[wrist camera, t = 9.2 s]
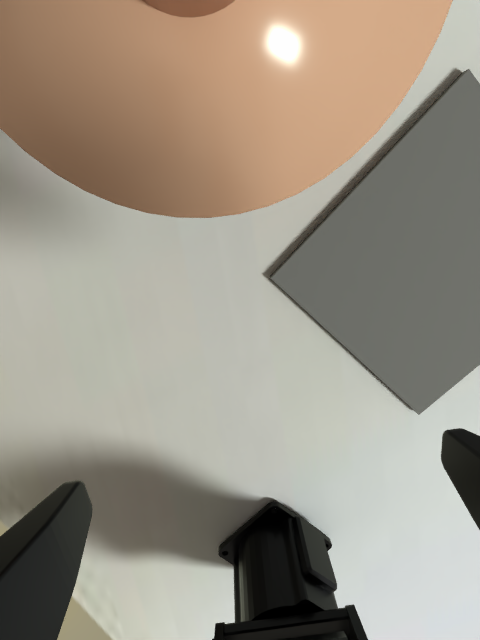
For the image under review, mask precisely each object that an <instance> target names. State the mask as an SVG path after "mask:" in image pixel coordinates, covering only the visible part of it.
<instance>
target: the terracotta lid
mask: <svg viewBox="0 0 480 640" xmlns="http://www.w3.org/2000/svg"><path fill="white" fill-rule="evenodd" d="M452 1H453V0H0V129H2V130H3V131H4V132H5V133H6V134H7V135H8V136H9V137H10V138H11V139H12V140H13V141H15V142H16V143H17V144H18V145H19V146H20V147H21V148H22V149H23V150H24V151H25V152H27V153H28V154H29V155H31V156H32V157H33V158H35V159H36V160H38V161H39V162H40V163H42V164H43V165H44V166H46V167H47V168H48V169H50V170H51V171H52V172H54V173H55V174H57V175H59V176H60V177H62V178H64V179H65V180H67V181H69V182H71V183H72V184H74V185H76V186H78V187H79V188H81V189H83V190H85V191H87V192H89V193H91V194H94V195H96V196H98V197H101V198H103V199H105V200H108V201H110V202H112V203H115V204H118V205H121V206H125V207H128V208H132V209H135V210H139V211H142V212H146V213H151V214H158V215H165V216H172V217H185V218H211V217H219V216H227V215H235V214H241V213H244V212H248V211H252V210H255V209H259V208H263V207H267V206H270V205H272V204H274V203H277V202H279V201H282V200H284V199H286V198H289V197H291V196H294V195H296V194H298V193H300V192H301V191H303V190H305V189H307V188H308V187H310V186H312V185H313V184H315V183H317V182H319V181H320V180H322V179H324V178H325V177H327V176H328V175H329V174H331V173H332V172H333V171H334V170H336V169H337V168H338V167H340V166H341V165H342V164H344V163H345V162H346V161H348V160H349V159H350V158H351V157H352V156H353V155H354V154H356V153H357V152H358V151H359V150H360V149H361V148H362V147H363V146H364V145H365V144H366V143H367V142H368V141H369V140H370V139H371V138H372V137H373V136H374V135H375V134H376V133H377V132H378V130H379V129H380V128H381V127H382V126H383V124H384V123H385V122H386V121H387V119H388V118H389V117H390V116H391V114H392V113H393V112H394V111H395V109H396V108H397V107H398V106H399V105H400V103H401V102H402V100H403V98H404V97H405V95H406V94H407V92H408V91H409V89H410V88H411V86H412V84H413V83H414V81H415V80H416V78H417V77H418V75H419V74H420V72H421V70H422V68H423V66H424V64H425V62H426V60H427V58H428V56H429V54H430V52H431V50H432V48H433V46H434V44H435V42H436V40H437V38H438V36H439V34H440V32H441V30H442V27H443V24H444V22H445V19H446V16H447V14H448V11H449V9H450V6H451V3H452Z"/></svg>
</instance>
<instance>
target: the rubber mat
mask: <svg viewBox="0 0 480 640" xmlns="http://www.w3.org/2000/svg"><path fill="white" fill-rule="evenodd" d="M270 278H271V279H272V280H273V281H274V282H275V283H276V284H277V285H278V286H279V287H280V288H281V289H283V290H284V291H285V292H286V293H287V294H288V295H289V296H290V297H291V298H292V299H293V300H295V301H296V302H297V303H298V304H299V305H300V306H301V307H302V308H303V309H304V310H305V311H306V312H308V313H309V314H310V315H311V316H312V317H313V318H314V319H315V320H316V321H317V322H318V323H320V324H321V325H322V326H323V327H324V328H325V329H326V330H327V331H328V332H329V333H330V334H331V335H333V336H334V337H335V338H336V339H337V340H338V341H339V342H340V343H341V344H342V345H343V346H345V347H346V348H347V349H348V350H349V351H350V352H351V353H352V354H353V355H354V356H355V357H356V358H358V359H359V360H360V361H361V362H362V363H363V364H364V365H365V366H366V367H367V368H368V369H370V370H371V371H372V372H373V373H374V374H375V375H376V376H377V377H378V378H379V379H380V380H381V381H383V382H384V383H385V384H386V385H387V386H388V387H389V388H390V389H391V390H392V391H393V392H395V393H396V394H397V395H398V396H399V397H400V398H401V399H402V400H403V401H404V402H405V403H407V404H408V405H409V406H410V407H411V408H412V409H413V410H414V411H415V412H416V413H417V414H418V415H419V414H420V413H422V412H423V411H424V410H425V409H427V408H428V407H429V406H430V405H431V404H433V403H434V402H435V401H436V400H437V399H439V398H440V397H441V396H442V395H443V394H445V393H446V392H447V391H448V390H450V389H451V388H452V387H453V386H454V385H456V384H457V383H458V382H459V381H460V380H462V379H463V378H464V377H465V376H466V375H468V374H469V373H470V372H471V371H473V370H474V369H475V368H476V367H477V366H479V365H480V84H479V82H478V81H477V80H476V78H475V77H474V75H473V74H472V73H471V71H470V70H469V69H468V70H466V71H464V72H463V73H462V74H461V75H460V76H459V77H458V78H457V79H456V80H455V81H454V82H453V84H452V85H451V86H450V87H449V88H448V89H447V90H446V91H445V92H444V93H443V94H442V95H441V96H440V97H439V98H438V99H437V101H436V102H435V103H434V104H433V105H432V106H431V107H430V108H429V109H428V110H427V111H426V112H425V113H424V114H423V115H422V116H421V117H420V119H419V120H418V121H417V122H416V123H415V124H414V125H413V126H412V127H411V128H410V129H409V130H408V131H407V132H406V133H405V134H404V135H403V137H402V138H401V139H400V140H399V141H398V142H397V143H396V144H395V145H394V146H393V147H392V148H391V149H390V150H389V151H388V152H387V154H386V155H385V156H384V157H383V158H382V159H381V160H380V161H379V162H378V163H377V164H376V165H375V166H374V167H373V168H372V169H371V170H370V172H369V173H368V174H367V175H366V176H365V177H364V178H363V179H362V180H361V181H360V182H359V183H358V184H357V185H356V186H355V187H354V188H353V190H352V191H351V192H350V193H349V194H348V195H347V196H346V197H345V198H344V199H343V200H342V201H341V202H340V203H339V204H338V205H337V207H336V208H335V209H334V210H333V211H332V212H331V213H330V214H329V215H328V216H327V217H326V218H325V219H324V220H323V221H322V222H321V223H320V225H319V226H318V227H317V228H316V229H315V230H314V231H313V232H312V233H311V234H310V235H309V236H308V237H307V238H306V239H305V240H304V241H303V243H302V244H301V245H300V246H299V247H298V248H297V249H296V250H295V251H294V252H293V253H292V254H291V255H290V256H289V257H288V258H287V259H286V261H285V262H284V263H283V264H282V265H281V266H280V267H279V268H278V269H277V270H276V271H275V272H274V273H273V274H272V275H271V276H270Z"/></svg>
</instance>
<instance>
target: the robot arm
mask: <svg viewBox="0 0 480 640" xmlns="http://www.w3.org/2000/svg"><path fill="white" fill-rule="evenodd" d="M441 460H442V464H443V467H444V469H445V470H446V472H447V474H448V476H449V477H450V479H451V481H452V483H453V484H454V486H455V488H456V490H457V491H458V493H459V495H460V497H461V499H462V500H463V502H464V504H465V506H466V507H467V509H468V511H469V513H470V514H471V516H472V518H473V520H474V521H475V523H476V525H477V526H478V528H479V530H480V436H478V435H476V434H474V433H471V432H469V431H467V430H465V429H460V428H459V429H451V430H446V431H445V432H444V433H443V437H442V451H441ZM91 517H92V504H91V501H90V499H89V496H88V493H87V490H86V487H85V485H84V483H83V482H82V481H72V482H66V483H64V484H62V485H61V486H60V487H59V488H57V489H56V490H55V491H54V492H53V493H51V494H50V495H49V496H48V497H47V498H46V499H44V500H43V501H42V502H41V503H40V504H38V505H37V506H36V507H35V508H34V509H32V510H31V511H30V512H29V513H28V514H27V515H25V516H24V517H23V518H22V519H21V520H19V521H18V522H17V523H16V524H15V525H13V526H12V527H11V528H10V529H9V530H7V531H6V532H5V533H4V534H3V535H2V536H0V640H57V638H58V634H59V632H60V629H61V626H62V623H63V620H64V617H65V614H66V611H67V608H68V605H69V602H70V599H71V596H72V593H73V590H74V587H75V583H76V580H77V576H78V572H79V568H80V564H81V559H82V555H83V551H84V547H85V542H86V538H87V534H88V530H89V526H90V521H91ZM331 547H332V544H331V541H330V539H329V538H328V537H327V536H326V535H324V534H323V533H322V532H321V531H320V530H319V529H317V528H316V527H314V526H313V525H311V524H310V523H309V522H307V521H306V520H304V519H303V518H301V517H300V516H297V515H296V514H294V513H293V512H291V511H290V510H289V509H287V508H286V507H284V506H283V505H281V504H280V503H278V502H271V503H269V504H268V505H267V506H266V507H264V508H263V509H262V510H261V511H260V512H259V513H257V514H256V515H255V516H254V517H253V518H252V519H250V520H249V521H248V522H247V523H246V524H245V525H243V526H242V527H241V528H240V529H239V530H238V531H236V532H235V533H234V534H233V535H232V536H231V537H229V538H228V539H227V540H226V541H225V542H224V543H222V544H221V545H220V546H219V556H220V557H222V558H223V559H225V560H227V561H228V562H230V563H231V564H233V565H234V599H235V623H229V624H225V623H224V622H222V623H216V625H215V636H214V639H212V640H368V639H367V636H366V634H365V631H364V629H363V626H362V624H361V621H360V619H359V616H358V614H357V611H356V609H355V606H354V605H347V606H345V608H338V607H337V603H336V600H335V596H334V591H335V590H336V589H337V583H336V579H335V576H334V572H333V569H332V565H331V562H330V559H329V555H328V552H327V551H328V550H329V549H330V548H331Z"/></svg>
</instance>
